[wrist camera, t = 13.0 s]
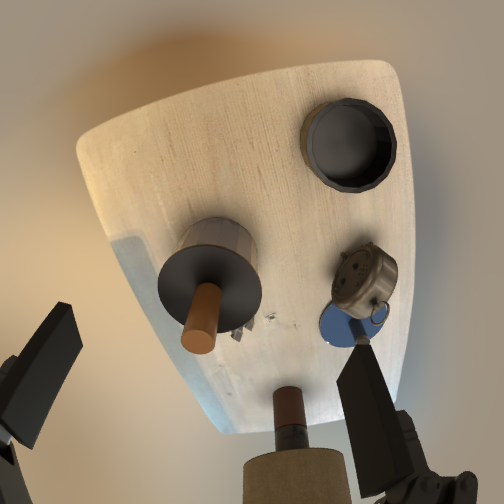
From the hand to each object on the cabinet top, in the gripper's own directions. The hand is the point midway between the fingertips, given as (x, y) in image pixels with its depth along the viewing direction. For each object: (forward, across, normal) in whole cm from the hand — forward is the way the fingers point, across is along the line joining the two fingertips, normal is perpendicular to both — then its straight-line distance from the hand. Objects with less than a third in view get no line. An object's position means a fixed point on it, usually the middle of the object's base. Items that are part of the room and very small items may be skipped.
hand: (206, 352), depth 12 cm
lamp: (+32, +17, -48) cm, 60 cm away
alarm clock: (+33, +20, -10) cm, 40 cm away
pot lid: (+32, +25, -23) cm, 46 cm away
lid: (+22, -2, -13) cm, 25 cm away
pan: (+33, +14, +8) cm, 36 cm away
